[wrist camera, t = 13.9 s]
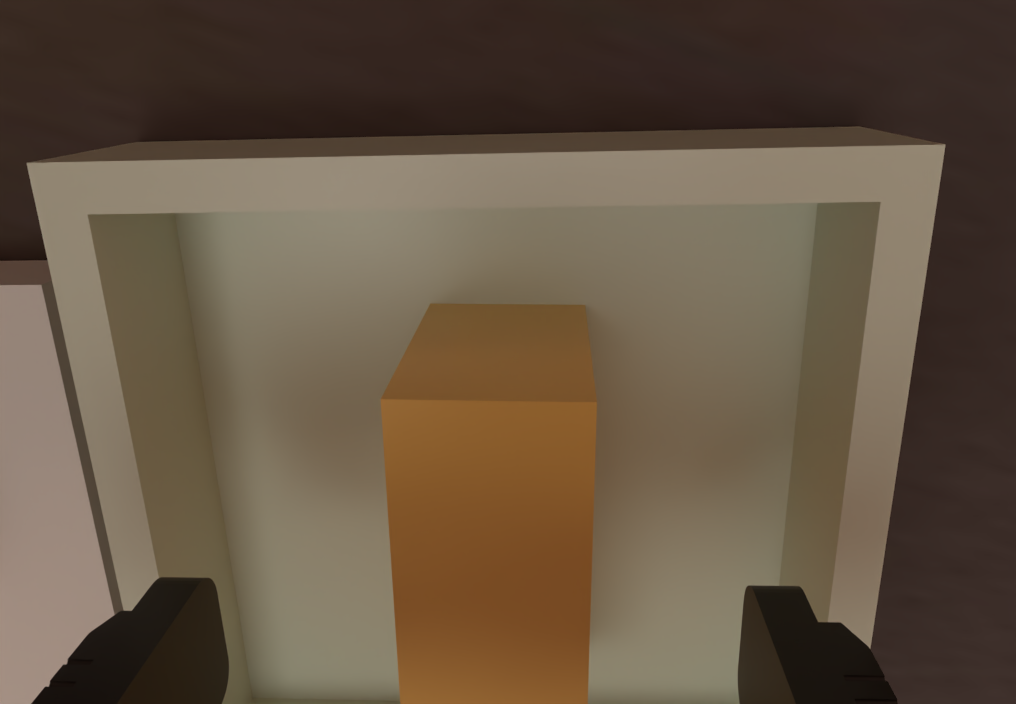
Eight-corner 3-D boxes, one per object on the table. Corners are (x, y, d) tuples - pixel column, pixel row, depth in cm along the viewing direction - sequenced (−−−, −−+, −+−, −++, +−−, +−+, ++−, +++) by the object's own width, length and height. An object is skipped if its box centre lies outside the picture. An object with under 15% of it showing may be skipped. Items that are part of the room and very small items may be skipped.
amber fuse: (408, 829, 14) (380, 399, 11) (444, 642, 19) (430, 303, 16) (583, 836, 14) (596, 402, 11) (576, 646, 18) (584, 305, 16)
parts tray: (137, 141, 16) (26, 163, 12) (859, 126, 15) (945, 144, 12) (233, 705, 20) (171, 829, 17) (791, 717, 19) (840, 850, 16)
